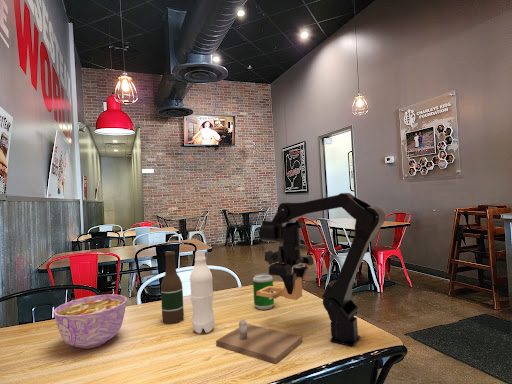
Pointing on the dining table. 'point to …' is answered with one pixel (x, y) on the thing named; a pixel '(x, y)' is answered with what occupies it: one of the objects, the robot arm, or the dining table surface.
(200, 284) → the water bottle
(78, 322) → the bowl of food
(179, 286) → the beer bottle
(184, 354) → the dining table surface
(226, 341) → the board
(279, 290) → the square frame with handle
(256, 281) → the soda can
